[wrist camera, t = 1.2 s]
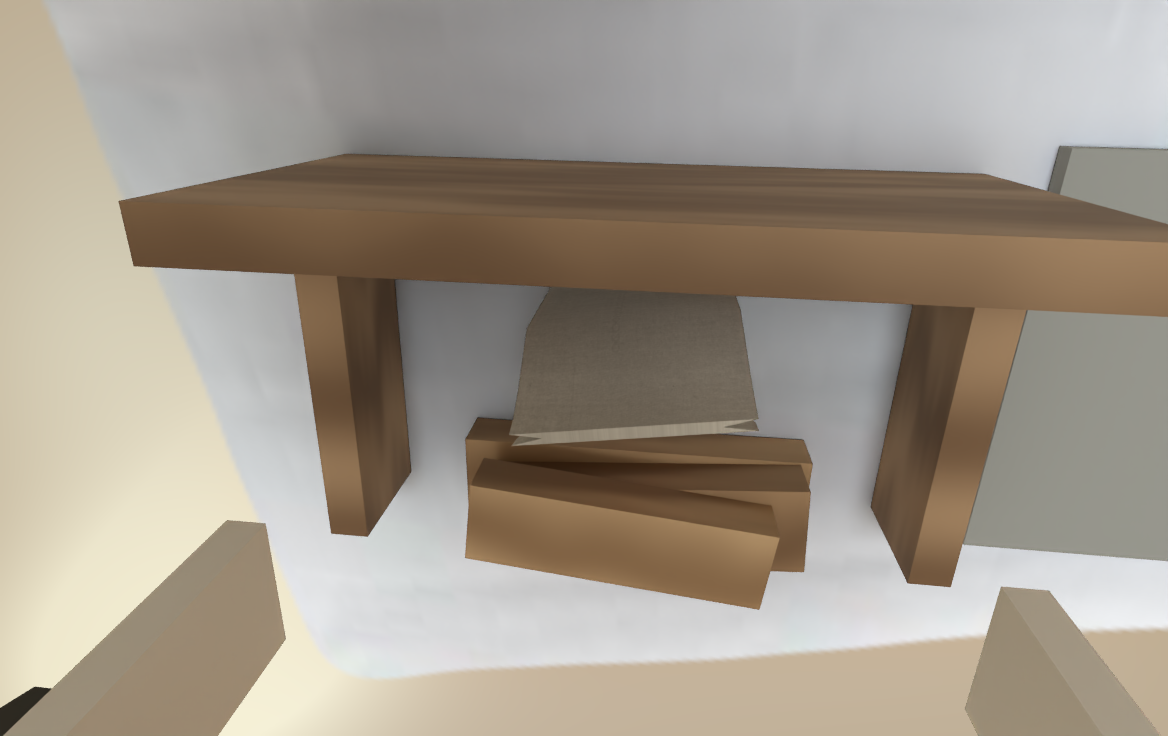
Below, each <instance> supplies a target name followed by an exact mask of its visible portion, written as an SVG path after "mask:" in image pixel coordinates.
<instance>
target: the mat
mask: <svg viewBox="0 0 1168 736" xmlns="http://www.w3.org/2000/svg"><path fill="white" fill-rule="evenodd" d="M1048 191H1049V192H1052V193H1056V194H1060V195H1063V196H1067V197H1071V198H1074V199H1078V200H1082V201H1085V202H1089V203H1093V204H1096V205H1100V206H1103V207H1107V208H1111V209H1114V210H1118V211H1122V212H1125V213H1129V214H1133V215H1136V216H1140V217H1144V218H1147V219H1151V220H1155V221H1158V222H1162V223H1165V224H1168V149H1145V148H1108V147H1072V146H1060V148H1059V152H1058V155H1057V159H1056V163H1055V167H1054V170H1053V174H1052V178H1051V182H1050V185H1049V189H1048ZM963 544H964V545H975V546H987V547H999V548H1012V549H1024V550H1037V551H1049V552H1061V553H1074V554H1086V555H1099V556H1111V557H1123V558H1136V559H1148V560H1161V561H1168V317H1157V316H1136V315H1116V314H1096V313H1075V312H1055V311H1035V310H1026V314H1025V317H1024V321H1023V325H1022V328H1021V332H1020V336H1019V339H1018V343H1017V347H1016V350H1015V354H1014V358H1013V361H1012V365H1011V369H1010V372H1009V376H1008V379H1007V383H1006V387H1005V390H1004V394H1003V398H1002V401H1001V405H1000V409H999V412H998V416H997V420H996V423H995V427H994V431H993V434H992V438H991V442H990V445H989V449H988V453H987V456H986V460H985V463H984V467H983V471H982V474H981V478H980V482H979V485H978V489H977V493H976V496H975V500H974V504H973V507H972V511H971V515H970V518H969V522H968V526H967V529H966V533H965V537H964V540H963Z"/></svg>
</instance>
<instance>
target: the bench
mask: <svg viewBox="0 0 1168 736" xmlns="http://www.w3.org/2000/svg"><path fill="white" fill-rule="evenodd" d="M119 205H120V209H121V214H122V218H123V222H124V226H125V231H126V235H127V239H128V244H129V248H130V252H131V256H132V261H133V265H134V266H140V267H161V268H181V269H201V270H222V271H242V272H262V273H283V274H294V276H295V283H296V290H297V297H298V304H299V311H300V318H301V325H302V332H303V339H304V346H305V353H306V360H307V367H308V374H309V381H310V388H311V395H312V402H313V409H314V416H315V423H316V430H317V437H318V444H319V451H320V458H321V465H322V472H323V479H324V486H325V493H326V500H327V507H328V514H329V521H330V528H331V533H332V534H343V535H355V536H366V537H368V535H369V534H370V532H371V531H372V529H373V528H374V526H375V525H376V523H377V522H378V520H379V519H380V517H381V516H382V515H383V513H384V512H385V510H386V509H387V507H388V506H389V504H390V503H391V501H392V500H393V498H394V497H395V495H396V494H397V492H398V491H399V489H400V488H401V486H402V485H403V483H404V482H405V480H406V479H407V477H408V476H409V474H410V473H411V465H410V453H409V442H408V430H407V419H406V407H405V396H404V384H403V373H402V361H401V350H400V338H399V327H398V315H397V304H396V292H395V281H394V279H405V280H425V281H445V282H466V283H486V284H506V285H527V286H547V287H567V288H588V289H608V290H628V291H649V292H669V293H689V294H710V295H730V296H750V297H771V298H791V299H811V300H832V301H852V302H872V303H893V304H913V306H912V311H911V316H910V321H909V326H908V330H907V335H906V340H905V345H904V350H903V354H902V359H901V364H900V369H899V374H898V378H897V383H896V388H895V393H894V398H893V402H892V407H891V412H890V417H889V422H888V427H887V431H886V436H885V441H884V446H883V451H882V455H881V460H880V465H879V470H878V475H877V479H876V484H875V489H874V494H873V499H872V503H871V508H872V510H873V512H874V515H875V517H876V519H877V521H878V523H879V525H880V527H881V529H882V531H883V533H884V535H885V537H886V539H887V541H888V543H889V545H890V548H891V550H892V552H893V554H894V556H895V558H896V560H897V562H898V564H899V566H900V568H901V570H902V572H903V574H904V576H905V579H906V581H907V583H910V584H921V585H933V586H944V587H951V584H952V580H953V577H954V573H955V569H956V566H957V562H958V558H959V555H960V551H961V547H962V544H963V540H964V537H965V533H966V529H967V526H968V522H969V518H970V515H971V511H972V507H973V504H974V500H975V496H976V493H977V489H978V485H979V482H980V478H981V474H982V471H983V467H984V463H985V460H986V456H987V453H988V449H989V445H990V442H991V438H992V434H993V431H994V427H995V423H996V420H997V416H998V412H999V409H1000V405H1001V401H1002V398H1003V394H1004V390H1005V387H1006V383H1007V379H1008V376H1009V372H1010V369H1011V365H1012V361H1013V358H1014V354H1015V350H1016V347H1017V343H1018V339H1019V336H1020V332H1021V328H1022V325H1023V321H1024V317H1025V314H1026V310H1035V311H1055V312H1075V313H1096V314H1116V315H1136V316H1157V317H1168V224H1165V223H1162V222H1158V221H1155V220H1151V219H1147V218H1144V217H1140V216H1136V215H1133V214H1129V213H1125V212H1122V211H1118V210H1114V209H1111V208H1107V207H1103V206H1100V205H1096V204H1093V203H1089V202H1085V201H1082V200H1078V199H1074V198H1071V197H1067V196H1063V195H1060V194H1056V193H1052V192H1049V191H1045V190H1041V189H1038V188H1034V187H1030V186H1027V185H1023V184H1020V183H1016V182H1012V181H1009V180H1005V179H1001V178H998V177H994V176H990V175H987V174H971V173H939V172H907V171H876V170H844V169H812V168H780V167H748V166H717V165H685V164H653V163H621V162H589V161H558V160H526V159H494V158H462V157H430V156H399V155H367V154H343V155H338V156H333V157H328V158H324V159H319V160H314V161H309V162H304V163H300V164H295V165H290V166H285V167H280V168H275V169H271V170H266V171H261V172H256V173H251V174H247V175H242V176H237V177H232V178H227V179H223V180H218V181H213V182H208V183H203V184H198V185H194V186H189V187H184V188H179V189H174V190H170V191H165V192H160V193H155V194H150V195H146V196H141V197H136V198H131V199H126V200H121V201H119Z"/></svg>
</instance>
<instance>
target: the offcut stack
mask: <svg viewBox="0 0 1168 736" xmlns="http://www.w3.org/2000/svg"><path fill="white" fill-rule="evenodd" d="M512 421H513V420H501V419H487V418H477V420H476V422H475V423H474V425H473V427H472V428H471V430H470V432H469V434H468V435H467V437H466V439H465V442H466V462H467V481H468V500H469V509H468V524H467V538H466V552H465V558H468V559H474V560H480V561H485V562H491V563H497V564H502V565H508V566H514V567H519V568H525V569H531V570H536V571H542V572H548V573H554V574H559V575H565V576H571V577H576V578H582V579H588V580H593V581H599V582H605V583H610V584H616V585H622V586H628V587H633V588H639V589H645V590H650V591H656V592H662V593H667V594H673V595H679V596H684V597H690V598H696V599H701V600H707V601H713V602H719V603H724V604H730V605H736V606H741V607H747V608H753V609H758V610H759V609H760V605H761V602H762V598H763V595H764V591H765V588H766V584H767V581H768V577H769V574H770V571H784V572H804V566H805V554H806V542H807V530H808V518H809V506H810V494H811V492H810V489H809V483H810V477H811V471H812V465H813V463H812V461H811V458H810V456H809V453H808V450H807V448H806V445H805V443H804V440H794V439H780V438H765V437H750V436H736V435H721V434H700V435H684V436H667V437H651V438H635V439H618V440H602V441H585V442H569V443H553V444H536V445H520V446H511V445H512V444H513V443H514V442H515V440H516V439H517V438H518V437H519V436H515V435H509V432H510V429H511V425H512Z"/></svg>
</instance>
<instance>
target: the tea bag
mask: <svg viewBox="0 0 1168 736" xmlns="http://www.w3.org/2000/svg"><path fill="white" fill-rule="evenodd" d="M756 419H758V414H757V409H756V404H755V398H754V392H753V386H752V380H751V375H750V368H749V362H748V355H747V349H746V342H745V336H744V329H743V323H742V317H741V310H740V307H739V304H738V301H737V298H736V296H730V295H710V294H689V293H669V292H649V291H628V290H608V289H588V288H567V287H551V288H550V290H549V291H548V293H547V295H546V297H545V298H544V300H543V302H542V303H541V305H540V307H539V309H538V310H537V312H536V314H535V315H534V317H533V319H532V320H531V322H530V324H529V326H528V327H527V331H526V338H525V345H524V352H523V359H522V366H521V374H520V381H519V388H518V394H517V400H516V405H515V411H514V417H513V421H512V425H511V429H510V432H509V435H515V436H519V437H518V438H517V439H516V440H515V442H514V443H513V444H512V445H511V446H520V445H536V444H553V443H569V442H585V441H602V440H618V439H635V438H651V437H667V436H684V435H700V434H717V433H733V432H749V431H759V430H758V427H757V425H756V423H755V422H754V421H753V420H756Z"/></svg>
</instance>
